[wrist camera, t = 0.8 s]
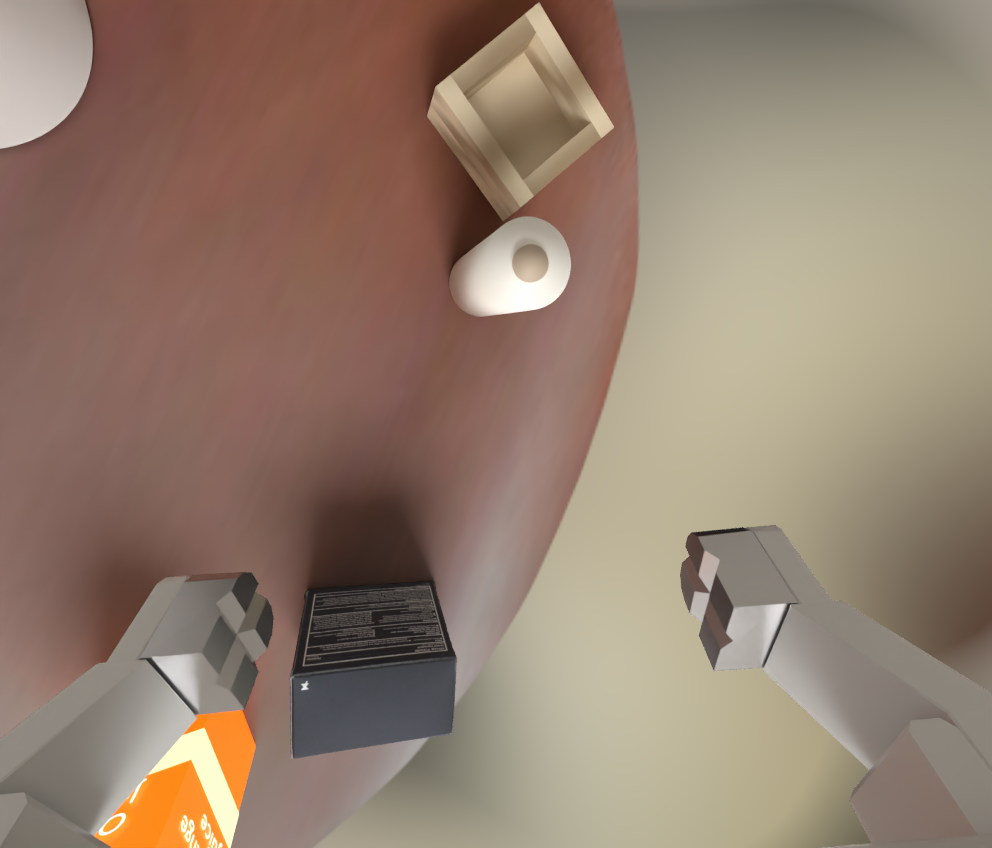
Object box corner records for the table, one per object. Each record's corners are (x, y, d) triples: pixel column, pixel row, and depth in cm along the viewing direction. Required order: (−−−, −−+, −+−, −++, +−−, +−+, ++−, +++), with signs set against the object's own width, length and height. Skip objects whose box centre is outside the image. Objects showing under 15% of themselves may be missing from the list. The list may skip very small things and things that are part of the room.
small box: (305, 660, 41) (286, 767, 31) (305, 587, 40) (285, 673, 30) (432, 647, 43) (453, 740, 33) (435, 578, 42) (458, 653, 32)
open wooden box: (426, 116, 36) (435, 86, 31) (518, 41, 36) (538, 2, 32) (503, 221, 38) (520, 207, 34) (586, 149, 39) (614, 127, 35)
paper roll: (435, 278, 38) (468, 254, 26) (484, 237, 38) (538, 195, 26) (476, 329, 39) (525, 328, 28) (522, 289, 40) (589, 271, 28)
